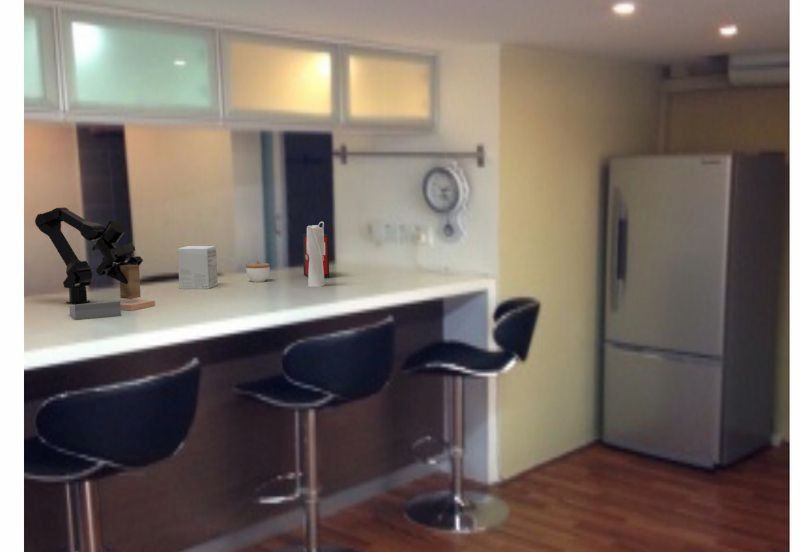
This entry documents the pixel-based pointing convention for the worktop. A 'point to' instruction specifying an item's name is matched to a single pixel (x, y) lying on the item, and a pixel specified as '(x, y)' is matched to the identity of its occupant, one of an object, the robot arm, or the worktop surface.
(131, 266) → the walnut block
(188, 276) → the supplement box
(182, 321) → the worktop surface
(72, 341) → the worktop surface
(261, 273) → the lidded jar
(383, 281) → the worktop surface
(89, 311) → the slate shelf ledge
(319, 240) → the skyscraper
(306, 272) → the cleaning product box
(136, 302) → the terracotta tile stand
